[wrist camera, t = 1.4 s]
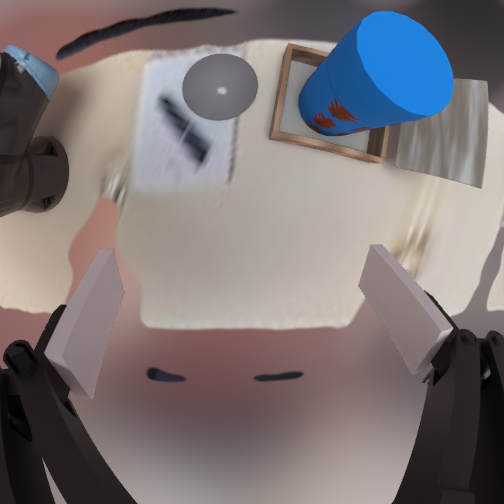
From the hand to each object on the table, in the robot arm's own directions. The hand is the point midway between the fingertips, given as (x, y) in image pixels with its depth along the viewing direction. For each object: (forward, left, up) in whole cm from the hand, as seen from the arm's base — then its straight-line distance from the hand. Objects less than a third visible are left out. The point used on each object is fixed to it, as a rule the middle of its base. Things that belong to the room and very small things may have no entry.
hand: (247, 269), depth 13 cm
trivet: (-7, +18, -32) cm, 37 cm away
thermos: (+11, +17, -32) cm, 38 cm away
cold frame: (+15, +17, -32) cm, 39 cm away
